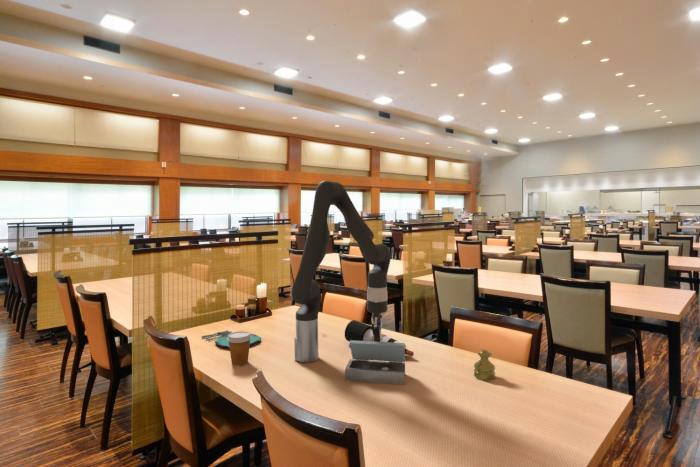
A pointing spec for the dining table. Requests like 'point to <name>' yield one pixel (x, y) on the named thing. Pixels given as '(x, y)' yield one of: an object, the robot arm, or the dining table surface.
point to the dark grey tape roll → (384, 368)
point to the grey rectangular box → (375, 372)
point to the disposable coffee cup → (239, 347)
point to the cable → (367, 334)
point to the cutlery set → (223, 339)
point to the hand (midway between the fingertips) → (377, 344)
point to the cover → (377, 351)
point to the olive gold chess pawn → (484, 367)
